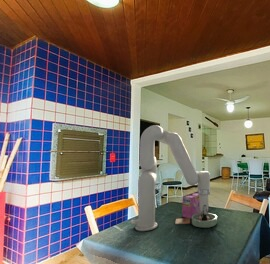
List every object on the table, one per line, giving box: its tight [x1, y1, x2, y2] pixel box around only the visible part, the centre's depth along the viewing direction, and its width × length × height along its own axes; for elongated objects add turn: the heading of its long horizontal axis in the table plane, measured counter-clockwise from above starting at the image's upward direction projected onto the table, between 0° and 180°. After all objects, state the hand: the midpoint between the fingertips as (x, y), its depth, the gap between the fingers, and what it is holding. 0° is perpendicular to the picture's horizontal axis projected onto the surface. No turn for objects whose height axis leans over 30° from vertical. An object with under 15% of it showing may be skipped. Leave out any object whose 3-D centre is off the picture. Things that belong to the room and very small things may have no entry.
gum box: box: [181, 190, 210, 220], centre depth 142 cm, size 24×8×14 cm, turn 148°
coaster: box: [174, 217, 191, 225], centre depth 125 cm, size 9×9×1 cm
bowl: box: [191, 212, 218, 229], centre depth 121 cm, size 15×15×4 cm
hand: (204, 222), depth 121 cm, fingers closed on eraser, 3 cm apart
